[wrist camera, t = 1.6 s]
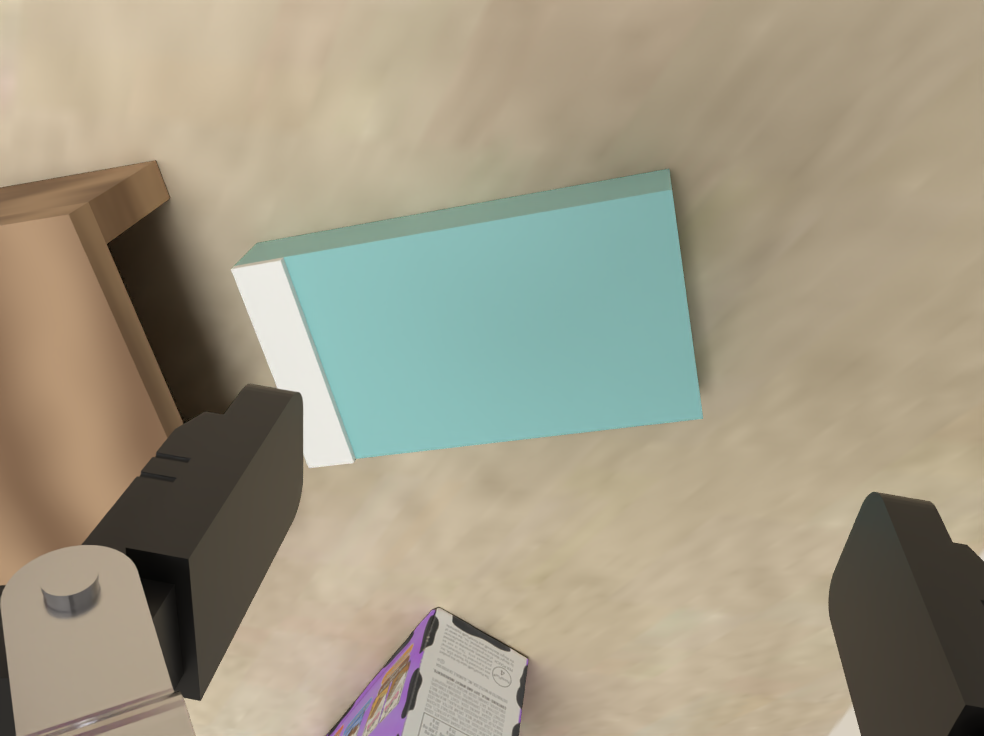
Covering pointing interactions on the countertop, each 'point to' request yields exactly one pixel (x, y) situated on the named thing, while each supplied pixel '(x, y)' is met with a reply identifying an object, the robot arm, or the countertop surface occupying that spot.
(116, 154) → the countertop surface
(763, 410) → the countertop surface
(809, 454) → the countertop surface
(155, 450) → the wood block
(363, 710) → the candy box
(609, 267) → the thin teal board
